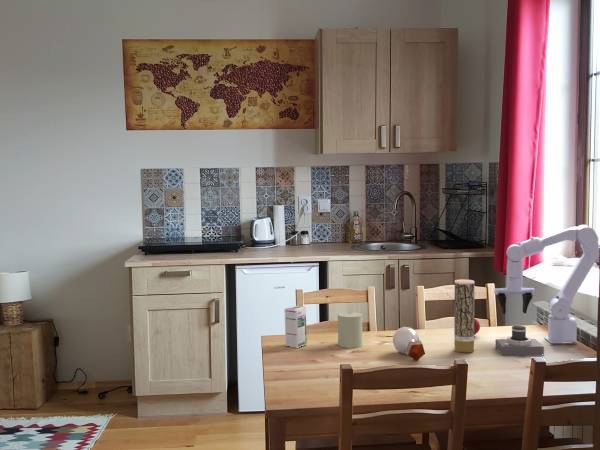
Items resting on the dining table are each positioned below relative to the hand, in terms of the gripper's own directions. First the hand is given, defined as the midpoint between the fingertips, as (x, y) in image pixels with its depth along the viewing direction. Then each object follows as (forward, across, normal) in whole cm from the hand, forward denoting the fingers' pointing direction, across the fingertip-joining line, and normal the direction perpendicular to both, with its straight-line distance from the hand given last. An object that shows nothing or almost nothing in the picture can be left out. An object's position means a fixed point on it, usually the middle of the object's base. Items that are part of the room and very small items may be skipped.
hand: (514, 312), depth 260 cm
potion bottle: (+10, +42, +20) cm, 47 cm away
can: (+10, +62, +5) cm, 63 cm away
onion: (+10, +14, -5) cm, 18 cm away
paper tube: (+10, +22, +15) cm, 28 cm away
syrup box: (+10, +82, +6) cm, 83 cm away
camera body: (+10, +3, +16) cm, 19 cm away
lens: (+7, +3, +16) cm, 18 cm away
